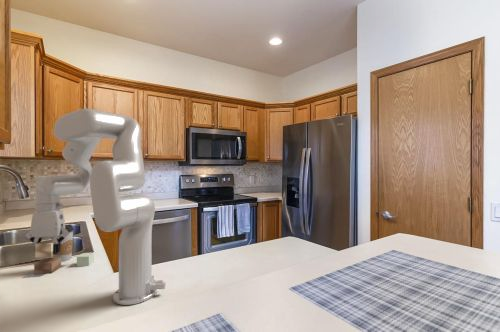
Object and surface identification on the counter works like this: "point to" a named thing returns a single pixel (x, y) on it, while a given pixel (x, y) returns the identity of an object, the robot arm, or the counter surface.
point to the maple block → (44, 249)
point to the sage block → (85, 259)
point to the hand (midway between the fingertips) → (47, 253)
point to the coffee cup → (66, 245)
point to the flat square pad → (36, 274)
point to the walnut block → (47, 265)
